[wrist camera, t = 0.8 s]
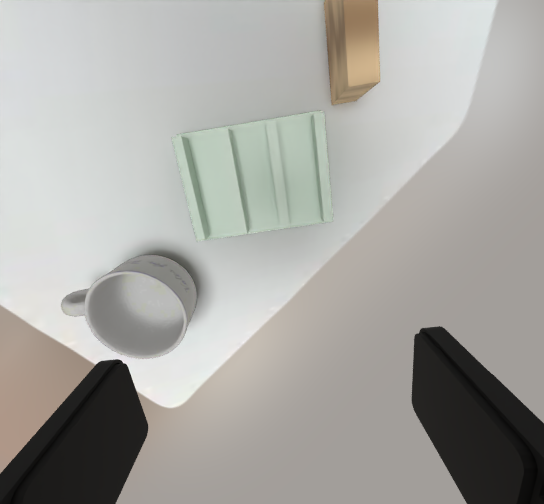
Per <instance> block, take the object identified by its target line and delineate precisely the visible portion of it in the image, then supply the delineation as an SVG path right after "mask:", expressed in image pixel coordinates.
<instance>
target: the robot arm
mask: <svg viewBox="0 0 544 504" xmlns="http://www.w3.org/2000/svg"><path fill="white" fill-rule="evenodd" d="M413 361H414V362H413V382H412V404H413V408H414V411H415V413H416V415H417V416H418V418H419V420H420V422H421V423H422V425H423V427H424V429H425V431H426V432H427V434H428V436H429V437H430V439H431V441H432V443H433V445H434V446H435V448H436V450H437V452H438V453H439V455H440V457H441V459H442V460H443V462H444V464H445V466H446V467H447V469H448V471H449V473H450V474H451V476H452V478H453V480H454V481H455V483H456V485H457V487H458V488H459V490H460V492H461V494H462V496H463V497H464V499H465V501H466V503H467V504H544V423H543V422H542V421H541V420H540V419H538V418H537V417H536V416H535V415H534V414H533V413H532V412H531V411H530V410H529V409H528V408H527V407H526V406H525V405H524V404H523V403H522V402H521V401H520V400H519V399H518V398H517V397H516V396H515V395H513V393H511V392H510V391H509V390H508V389H507V388H506V387H505V386H504V385H503V384H502V383H501V382H500V381H499V380H498V379H497V378H496V377H495V376H494V375H493V374H491V373H490V372H489V371H488V370H487V369H486V368H485V367H484V366H483V365H482V364H481V363H480V362H478V361H477V360H476V359H475V358H474V357H473V356H472V355H471V354H470V353H469V352H468V351H467V350H466V349H465V348H464V347H463V346H462V345H461V344H460V343H459V342H458V341H457V340H456V339H455V338H454V337H453V336H451V335H450V333H448V332H447V331H446V330H445V329H444V328H443V327H440V326H439V327H430V328H422V329H421V330H420V332H419V334H416V335H415V339H414V360H413ZM147 433H148V423H147V420H146V417H145V414H144V412H143V409H142V406H141V403H140V400H139V397H138V395H137V392H136V389H135V386H134V383H133V380H132V378H131V375H130V372H129V369H128V366H127V365H126V364H124V363H123V362H122V361H121V360H118V359H116V360H107V361H101V362H99V363H97V364H96V366H95V367H94V368H93V369H92V370H91V371H90V372H89V374H88V375H87V376H86V377H85V378H84V379H83V380H82V381H81V383H80V384H79V385H78V386H77V387H76V388H75V389H74V391H73V392H72V393H71V394H70V395H69V396H68V397H67V399H66V400H65V401H64V402H63V403H62V404H61V405H60V406H59V408H58V409H57V410H56V411H55V412H54V413H53V415H52V416H51V417H50V418H49V419H48V420H47V421H46V422H45V424H44V425H43V426H42V427H41V428H40V429H39V430H38V431H37V433H36V434H35V435H34V436H33V437H32V438H31V439H30V441H29V442H28V443H27V444H26V445H25V446H24V447H23V449H22V450H21V451H20V452H19V453H18V454H17V455H16V457H15V458H14V459H13V460H12V461H11V462H10V463H9V464H8V466H7V467H6V468H5V469H4V470H3V472H1V474H0V504H115V503H116V501H117V499H118V497H119V495H120V493H121V491H122V488H123V486H124V484H125V482H126V480H127V478H128V475H129V473H130V471H131V469H132V467H133V465H134V462H135V460H136V458H137V456H138V454H139V452H140V450H141V447H142V445H143V443H144V441H145V439H146V436H147Z"/></svg>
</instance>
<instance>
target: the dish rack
mask: <svg viewBox="0 0 544 504" xmlns="http://www.w3.org/2000/svg"><path fill="white" fill-rule="evenodd" d="M171 138H172V142H173V146H174V151H175V155H176V159H177V163H178V167H179V171H180V175H181V179H182V183H183V188H184V192H185V196H186V200H187V204H188V208H189V212H190V216H191V220H192V224H193V229H194V233H195V237H196V241H197V242H198V241H205V240H211V239H218V238H225V237H232V236H239V235H245V234H252V233H259V232H266V231H273V230H279V229H286V228H293V227H300V226H307V225H314V224H320V223H327V222H333V211H332V199H331V188H330V176H329V164H328V152H327V141H326V129H325V117H324V112H321V110H320V111H314V112H308V113H302V114H296V115H290V116H284V117H278V118H272V119H266V120H260V121H255V122H249V123H243V124H237V125H231V126H225V127H219V128H213V129H207V130H201V131H195V132H189V133H183V134H177V136H176V137H171Z"/></svg>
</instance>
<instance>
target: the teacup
mask: <svg viewBox="0 0 544 504" xmlns="http://www.w3.org/2000/svg"><path fill="white" fill-rule="evenodd" d="M196 300H197V292H196V287H195V284H194V281H193V279H192V278H191V276H190V274H189V273H188V272H187V271H186V270H185V269H184V268H183V267H182V266H181V265H180V264H178V263H177V262H175V261H173V260H171V259H169V258H166V257H162V256H157V255H143V256H138V257H135V258H132V259H130V260H128V261H126V262H124V263H123V264H121V265H119V266H118V267H117V268H115V269H114V270H112V271H111V272H110V273H108V274H106V275H105V276H103V277H101V278H99V279H98V280H97V281H96V282H94V283H93V285H92V286H91V287H90V288H89V289H84V290H79V291H76V292H73V293H71V294H69V295H67V296H66V297H65V298H64V299H63V300H62V302H61V308H62V311H63V312H64V313H65V314H66V315H69V316H83V315H85V318H86V321H87V324H88V326H89V328H90V329H91V331H92V333H93V334H94V336H95V337H96V338H97V339H98V340H99V341H100V342H101V343H102V344H104V345H105V346H106V347H108V348H109V349H111V350H112V351H115V352H117V353H119V354H121V355H124V356H127V357H131V358H138V359H150V358H156V357H160V356H163V355H165V354H167V353H169V352H171V351H172V350H173V349H175V348H176V347H177V346H178V345H179V344H180V342H181V341H182V339H183V337H184V335H185V333H186V330H187V326H188V324H189V322H190V320H191V317H192V315H193V313H194V310H195V306H196Z"/></svg>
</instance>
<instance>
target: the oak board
mask: <svg viewBox="0 0 544 504" xmlns="http://www.w3.org/2000/svg"><path fill="white" fill-rule="evenodd" d="M324 10H325V23H326V36H327V49H328V62H329V75H330V88H331V101H332V105H334V104H340V103H346V102H352V101H356V100H358V99H359V98H360V97H361V96H363V95H364V94H365V93H366V92H368V91H369V90H370V89H371V88H373V87H374V86H375V85H376V84H378V83H379V82H380V62H379V27H378V0H325V2H324Z"/></svg>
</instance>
